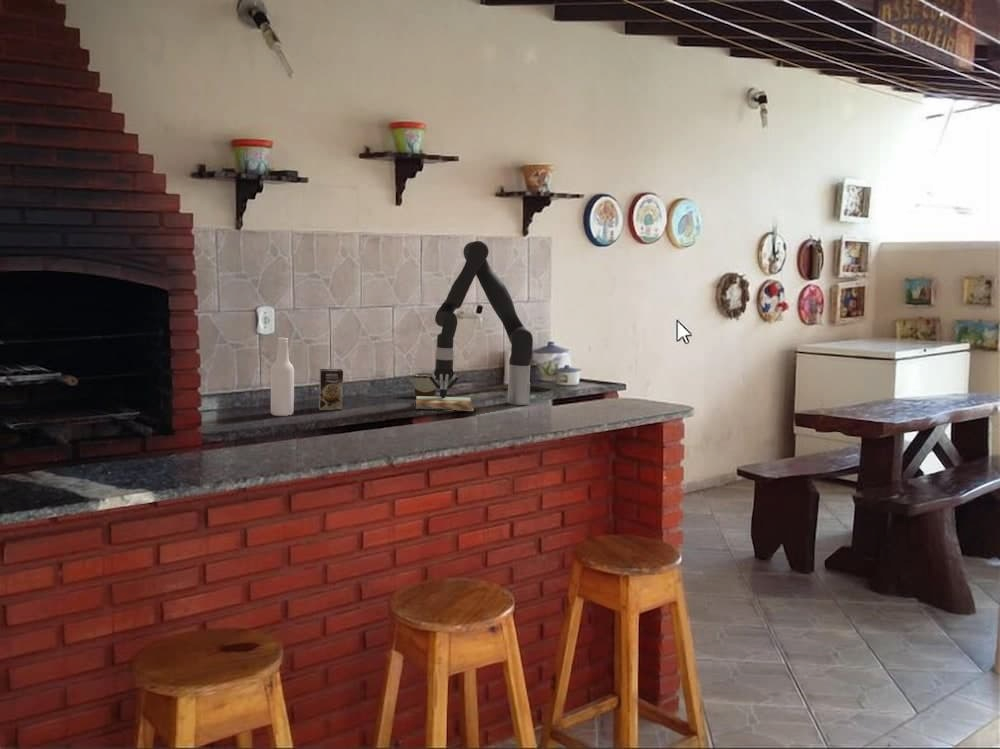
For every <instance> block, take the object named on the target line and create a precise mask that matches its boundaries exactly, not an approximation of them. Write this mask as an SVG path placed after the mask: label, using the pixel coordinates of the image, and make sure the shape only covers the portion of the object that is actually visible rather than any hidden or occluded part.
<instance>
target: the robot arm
mask: <svg viewBox="0 0 1000 749" xmlns="http://www.w3.org/2000/svg"><path fill="white" fill-rule="evenodd" d="M463 247H464V248H463V257H464V260H465V263H464V265H463V268H462V269H461V271H460V273H459V274H458V276H457V278H456V279H455V281H454V282H453V283H452V285H451V288H450V290H449V291H448V294H447V296H446V299H445V300H444V301H443V303H442V304H441V305H440V307H439V308H438V309H437V311H436V314H435V317H434V318H435V319H434V321H435V324H436V325H437V326H438V327H441V328H442V329H441V331H440V333H439V334H438V335H437V337H436V351H435V369H434V372H433V373H432V374H433V375H430V376H429V378H430V380H431V381H432V382H433V384H434V385H435V386H436V388H437V389H439V397H442V398H445V397H448V396H447V395H448V394H447V393H448V390H449V389H451V388H452V387H453V386H454V385H455V384H456V383H457V382H458V380H459V376H457V375H456V374H455V372H454V358H455V356H454V355H455V353H454V343H455V342H454V341H455V340H454V338H455V335H456V331H457V327H458V317H457V315H456V314H455V313H454V312H456V310H457V309H458V310H459V309H460V308H461V307H462V305H463V303H464V300H466V299H465V298H466V296H467V294H468V291H469V289H470V288H471V285H472V283H473V281H474V279H475V277H477V280H478V283H479V284H480V287H482V290H483V292H484V293H485V294H484V295H485V296H486V298H487V300H488V302H489V303H490V305H491V308H492V309H493V311H494V312H495V313H496V316H497V317H498V319H499V320H500V321H501V323H502V325H503V328H504V330H505V332H506V334H507V337H508V339H509V343H510V344H511V347H510V348H511V350H510V356H509V360H508V364H509V365H508V379H507V380H508V383H507V404H510V405H514V406H515V405H516V406H517V405H518V406H523V405H530V394H531V393H530V392H531V382H530V380H531V379H530V378H531V377H530V376H531V362H532V357H533V356H532V355H533V346H534V342H533V341H534V338H533V335H532V333H531V331H530V330H528V329H527V328H526V327H525V326H524V324H523V323H522V321H521V320H520V318H519V316H518V314H517V311H516V309H515V304H514V302H513V299H512V297H511V295H510V292H509V290H508V289H507V287H506V285H505V284H504V282H503V281H502V280H501V278H500V277H499V276H498V275H497V274H496V272H494V271H493V269H492V267H491V266H490V263H489V262H488V259H487V258H488V255H489V253H490V252H489V247H488V246H487V243H485V242H484V241H482V240H475V241H470V242H468V243H467V244H465V246H463ZM435 376H436V377H437V379H438V381H439V383H437V382H436V381H435ZM451 379H452V380H451ZM450 380H451V382H450ZM448 383H449V384H448Z"/></svg>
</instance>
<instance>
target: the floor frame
mask: <svg viewBox="0 0 1000 749" xmlns="http://www.w3.org/2000/svg"><path fill="white" fill-rule="evenodd" d="M417 406H418V407H431V408H445V409H453V410H457V411H460V412H461V411H462V412H463V411H465V412H474V411H475V410H474V407H473V408H472V406H473V402H472V400H471V401H444V400H417ZM453 410H452V411H453ZM457 411H456V412H457Z"/></svg>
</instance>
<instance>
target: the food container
mask: <svg viewBox="0 0 1000 749" xmlns="http://www.w3.org/2000/svg"><path fill="white" fill-rule="evenodd" d="M433 374H434V373H429V372H420V373H419V372H418V373H413V374H412V377H411V379H412V380H413V381H412V382H413V394H414V395H413V397H416V396H430V397H437V390H438V388H436V386H435V385H434V384H433V382H432V381H431V380H430V378H429V376H430V375H433ZM435 381H436V382H437V383H438V381H439V380H438V379H437V377H436V376H435ZM438 384H439V383H438Z"/></svg>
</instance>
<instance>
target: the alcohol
mask: <svg viewBox="0 0 1000 749" xmlns="http://www.w3.org/2000/svg"><path fill="white" fill-rule="evenodd" d="M288 340H289V338H288V337H283V336H282V337H278V338H277V347H276V348H277V349H276V360H275V362H274V363H273V364H272V365H271V368H270V413H271V415H273V416H276V417H288V415H290V416H292V415H294V413H295V412H294V411H295V410H294V409H295V407H294V406H295V405H294V403H295V368H294V365H293V364H292V363H291V362H290V356H289V341H288Z"/></svg>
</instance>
